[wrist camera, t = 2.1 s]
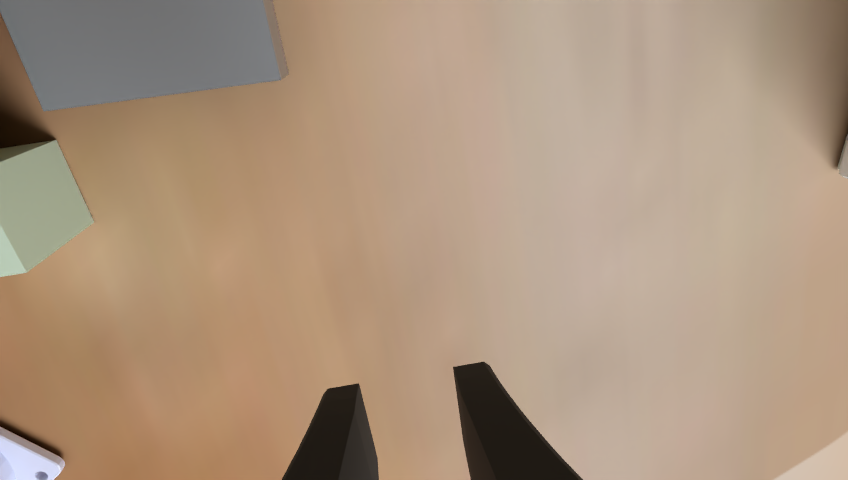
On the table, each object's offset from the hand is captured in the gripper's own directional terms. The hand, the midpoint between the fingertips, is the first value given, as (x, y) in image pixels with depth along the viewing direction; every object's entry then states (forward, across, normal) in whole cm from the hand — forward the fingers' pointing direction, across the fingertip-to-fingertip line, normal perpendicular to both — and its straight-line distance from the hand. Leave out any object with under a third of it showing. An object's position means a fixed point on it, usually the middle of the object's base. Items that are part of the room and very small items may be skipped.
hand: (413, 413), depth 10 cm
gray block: (+10, +6, -8) cm, 15 cm away
